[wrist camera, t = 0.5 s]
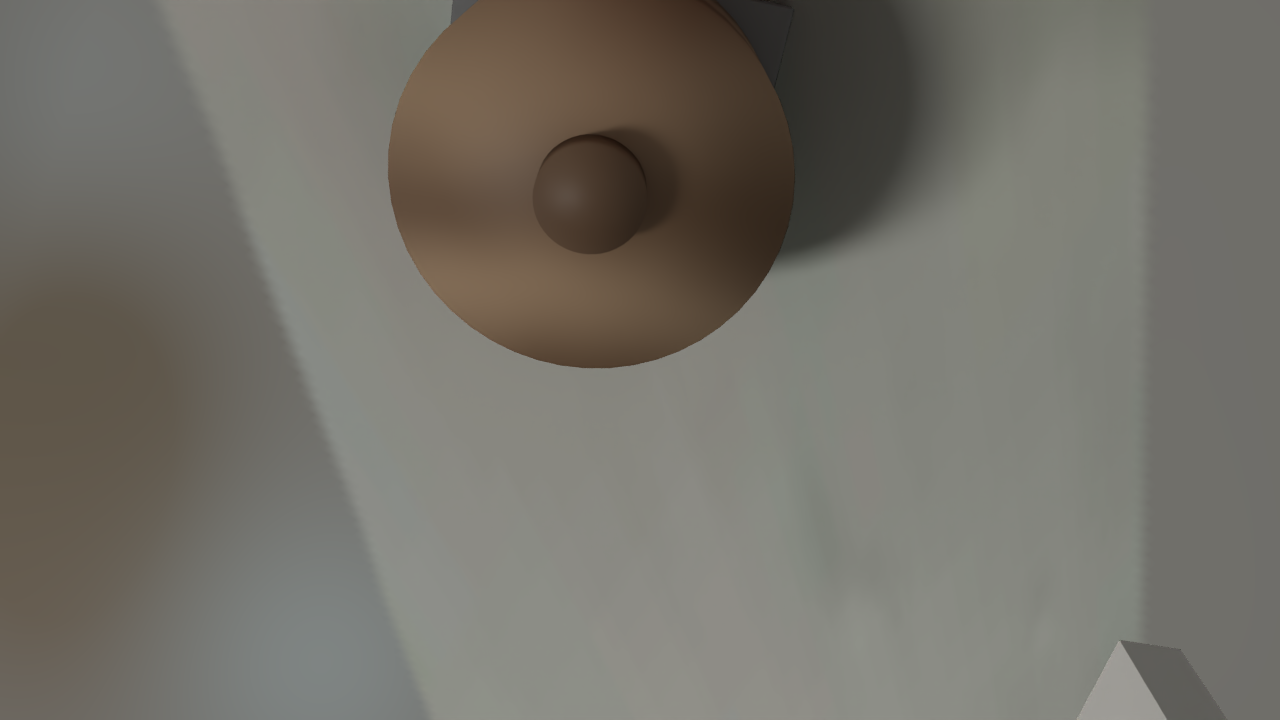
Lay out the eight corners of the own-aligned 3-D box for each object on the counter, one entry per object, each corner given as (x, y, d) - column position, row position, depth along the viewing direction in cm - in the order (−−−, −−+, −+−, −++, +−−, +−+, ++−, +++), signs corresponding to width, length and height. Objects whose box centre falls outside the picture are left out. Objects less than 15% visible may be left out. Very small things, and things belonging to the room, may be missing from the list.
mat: (462, -62, 29) (458, -60, 29) (791, 6, 30) (794, 9, 29) (430, 250, 34) (427, 257, 33) (717, 302, 35) (718, 310, 34)
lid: (443, -83, 28) (396, -66, 23) (814, -5, 29) (852, 28, 24) (410, 268, 33) (365, 347, 28) (729, 325, 34) (743, 413, 29)
